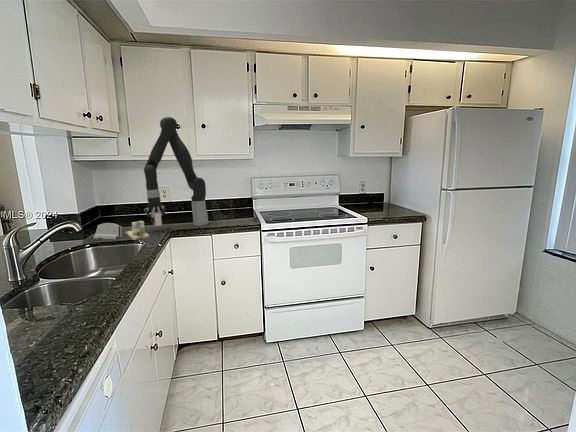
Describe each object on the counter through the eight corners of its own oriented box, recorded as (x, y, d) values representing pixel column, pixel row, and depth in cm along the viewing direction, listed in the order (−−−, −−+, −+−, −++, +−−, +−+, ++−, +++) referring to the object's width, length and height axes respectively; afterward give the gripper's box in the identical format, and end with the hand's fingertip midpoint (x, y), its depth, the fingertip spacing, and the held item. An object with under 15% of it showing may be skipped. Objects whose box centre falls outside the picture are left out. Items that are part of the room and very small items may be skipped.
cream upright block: (162, 225, 206) (160, 213, 204) (155, 226, 204) (154, 214, 202) (159, 223, 211) (157, 211, 209) (153, 224, 208) (151, 212, 207)
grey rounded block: (92, 238, 194) (95, 222, 196) (99, 238, 199) (101, 223, 200) (115, 239, 190) (117, 222, 192) (121, 239, 195) (123, 223, 196)
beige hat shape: (140, 231, 208) (138, 217, 206) (149, 237, 193) (147, 221, 191) (125, 234, 203) (123, 219, 201) (133, 239, 187) (131, 224, 186)
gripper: (162, 194, 210) (166, 219, 214) (140, 197, 202) (144, 223, 205) (166, 195, 205) (169, 221, 208) (143, 198, 196) (147, 225, 200)
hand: (157, 222), depth 207 cm, fingers closed on cream upright block, 4 cm apart
